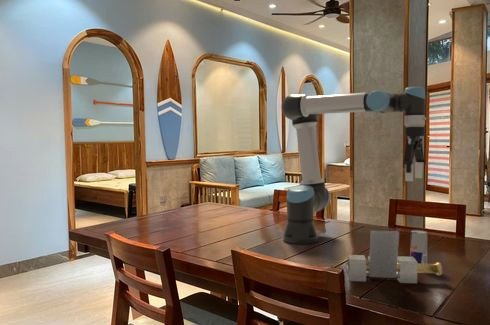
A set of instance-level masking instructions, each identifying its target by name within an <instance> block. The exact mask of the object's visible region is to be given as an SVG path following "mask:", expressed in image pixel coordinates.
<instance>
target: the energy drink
mask: <svg viewBox="0 0 490 325" xmlns="http://www.w3.org/2000/svg"><path fill="white" fill-rule="evenodd" d="M409 236H410V241H409V242H410V243H409V246H410V248H409V249H410V250H409V251H410V252H409V254H410V255H409V257H414V258H415V259H416V261H417V263H420V264H428V232H427V231H425V230H421V229H413V230H411V231H410V235H409Z"/></svg>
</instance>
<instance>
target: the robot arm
mask: <svg viewBox="0 0 490 325" xmlns="http://www.w3.org/2000/svg"><path fill="white" fill-rule="evenodd" d="M426 100H427V99H426V88H425V87H423V86H411V87H410V86H409V87H406V88H405V89H404V92H401V93H389V92H385V91H383V90H373V91H368V92H367V91H366V92H354V93H339V94H337V93H336V94H325V95H323V94H322V95H312V96H311V95H308V94H307V93H306V94H298V93H291V94H289V95H287V96H285V98H284V99H283V100H282V102H281V106H280V107H281V108H280V109H281V112H282V114H283V116H284V117H285V118H287V119H289V120H291V124H292V127H293V128H295V130H296V138H297V147H298V155H299V156H298V157H299V164H300V172H301V173H300V174H301V181H300V182H299V185H295V186H291V187H289V188H288V189H287V190H286V225H285V228H284V232H283V235H282V240H283V241H284V242H286V243H288V244H294V245H310V244H315V243H317V242H318V241H319V234H318V231H317V228H316V226H315V221H314V220H315V216H314V215H315V213H316V212H321V211H322V210H324V209H325V208H326V207H327V206H328V205H329V203H330V200H331V194H330V191H329V189H328V188H327V187H326V183H325V180H324V179H322V177H321V169H320V160H319V159H320V158H319V154H318V153H319V152H318V150H319V149H318V144H317V136H316V126H317V124H319V122H318V116H319V115H323V114H343V113H345V114H346V113H365V112H368V113H369V112H371V113H372V112H375V113H377V114H387V113H388V114H389V113H404V122H403V123H404V137H409V138H406V144H405V149H404V150H405V151H404V156H403V161H402V164H403V165H405V168H404V169H405V173H404V174H405V175H404V177H405V178H404V179H405V180H404V181H405V182H414V179H423V163H426V162H425V161H426V160H425V155H424V148H423V138H420V137H424V136H426V127H425V126H426V120H427V117H426ZM414 159H415V163H414Z"/></svg>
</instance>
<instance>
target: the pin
mask: <svg viewBox="0 0 490 325" xmlns="http://www.w3.org/2000/svg"><path fill="white" fill-rule="evenodd" d="M366 271H369V262H367V261H366ZM396 272H400V263H397V271H396ZM417 274H435V276H442V275H443V265H442V262H434V263H427V264H420V263H417Z"/></svg>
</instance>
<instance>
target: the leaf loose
mask: <svg viewBox="0 0 490 325" xmlns="http://www.w3.org/2000/svg"><path fill="white" fill-rule="evenodd" d="M369 240H370V241H369V242H370V243H369V255H368V256H367V259H366V262H369V271H368V274H369V276H368V277H369V278H383V279H384V278H385V279H386V278H387V279H391V278H392V279H397V277H396V271H397V258H398V256H399V246H400V245H399V244H400V243H399V242H400V231H399V230H370V239H369Z"/></svg>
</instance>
